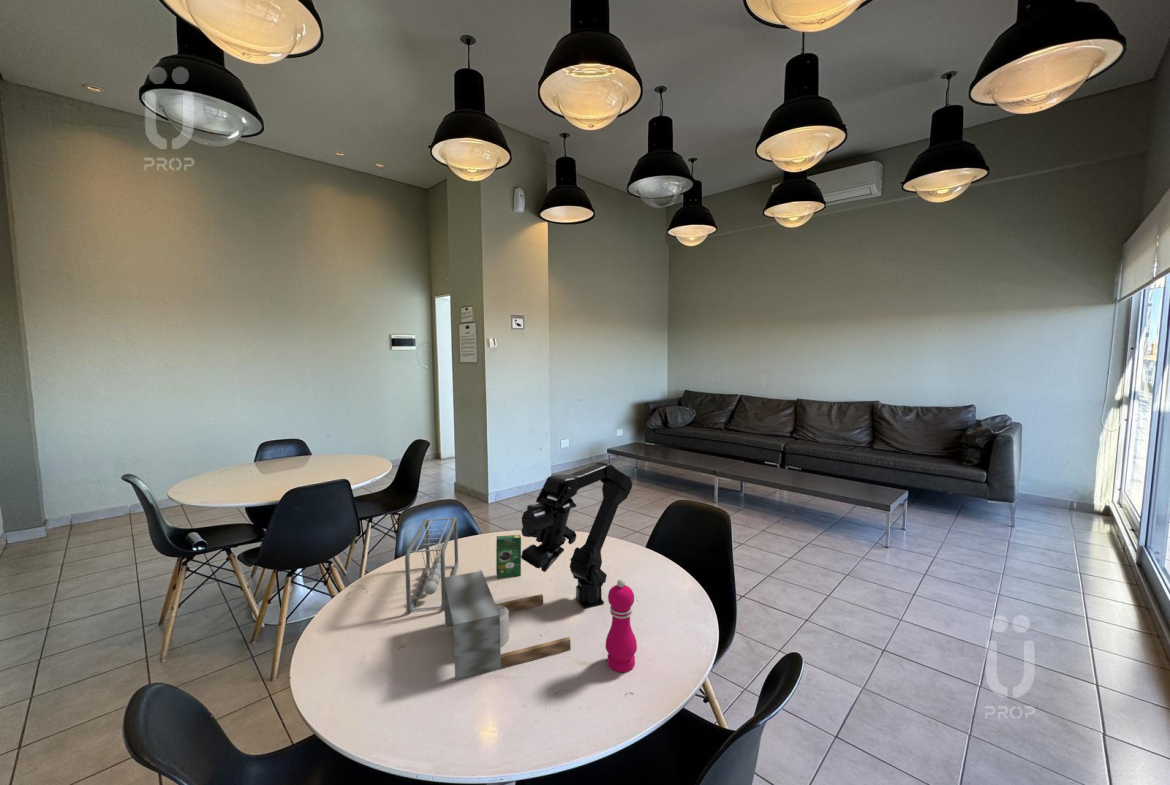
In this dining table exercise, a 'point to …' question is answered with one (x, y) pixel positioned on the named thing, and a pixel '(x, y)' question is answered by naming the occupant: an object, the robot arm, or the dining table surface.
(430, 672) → the dining table surface
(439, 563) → the newton's cradle
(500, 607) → the grey animal paw
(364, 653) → the dining table surface
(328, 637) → the dining table surface
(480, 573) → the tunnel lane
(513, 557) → the coffee box
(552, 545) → the robot arm
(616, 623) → the pepper mill
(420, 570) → the dining table surface
